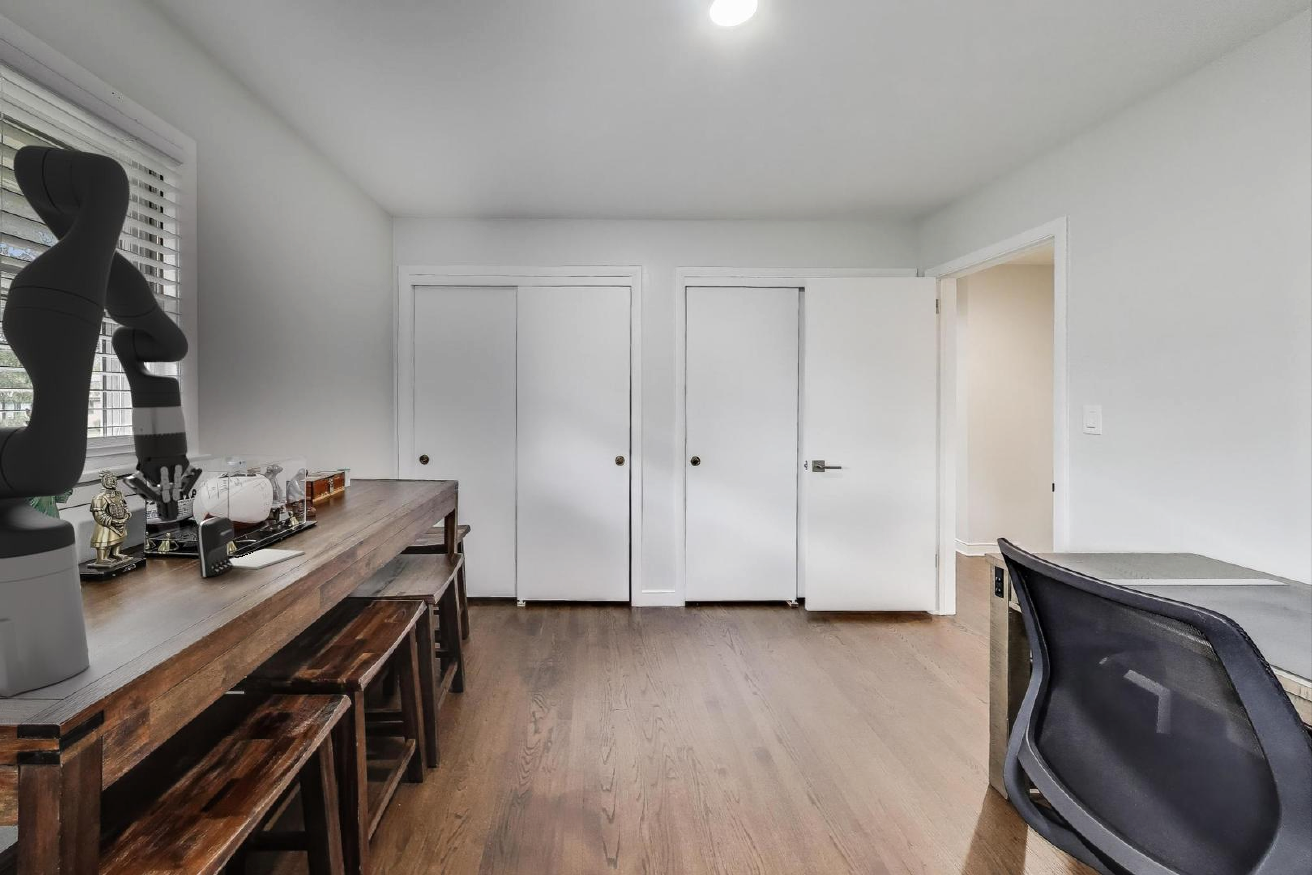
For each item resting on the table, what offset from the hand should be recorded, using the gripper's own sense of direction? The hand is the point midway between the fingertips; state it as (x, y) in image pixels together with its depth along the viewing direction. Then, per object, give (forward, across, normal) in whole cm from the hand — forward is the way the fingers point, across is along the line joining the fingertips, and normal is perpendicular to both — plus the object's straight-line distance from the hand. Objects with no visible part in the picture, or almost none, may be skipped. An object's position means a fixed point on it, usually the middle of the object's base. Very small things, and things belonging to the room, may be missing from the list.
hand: (169, 520), depth 109 cm
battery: (+13, +8, 0) cm, 16 cm away
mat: (+13, +18, 0) cm, 22 cm away
